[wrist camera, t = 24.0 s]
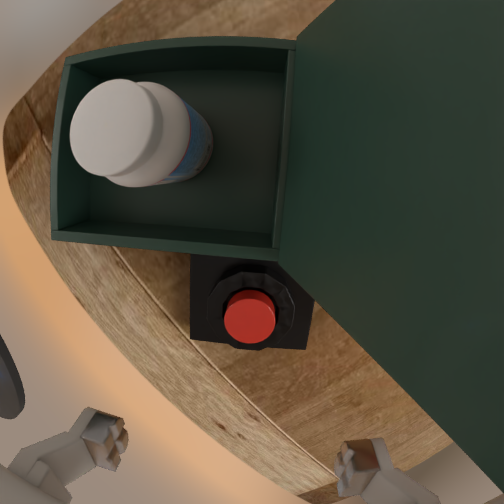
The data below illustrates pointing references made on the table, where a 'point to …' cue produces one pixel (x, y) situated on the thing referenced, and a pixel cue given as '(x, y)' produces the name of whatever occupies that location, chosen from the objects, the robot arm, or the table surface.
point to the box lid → (407, 199)
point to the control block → (239, 279)
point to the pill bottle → (139, 134)
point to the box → (216, 170)
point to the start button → (250, 316)
